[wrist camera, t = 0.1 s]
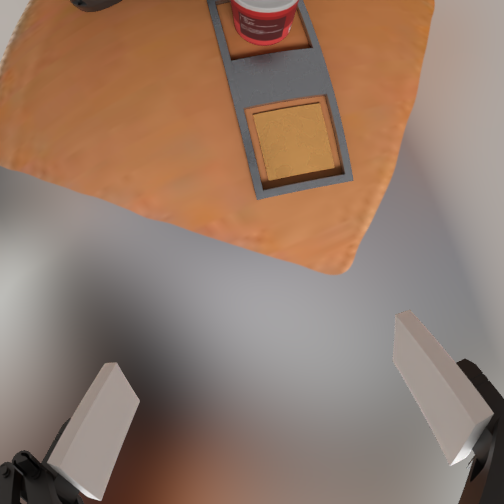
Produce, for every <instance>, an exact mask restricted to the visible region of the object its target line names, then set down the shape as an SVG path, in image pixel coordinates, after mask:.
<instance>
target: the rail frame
mask: <svg viewBox="0 0 504 504" xmlns="http://www.w3.org/2000/svg"><path fill="white" fill-rule="evenodd" d="M228 2H231V1H230V0H207V3H208V6H209V10H210V14H211V17H212V21H213V25H214V29H215V32H216V36H217V40H218V44H219V48H220V51H221V55H222V59H223V63H224V67H225V71H226V75H227V78H228V82H229V86H230V90H231V94H232V98H233V102H234V106H235V110H236V114H237V118H238V122H239V126H240V130H241V135H242V139H243V143H244V147H245V151H246V155H247V159H248V163H249V168H250V172H251V176H252V180H253V185H254V189H255V193H256V197H257V200H259V199H264V198H268V197H273V196H277V195H282V194H287V193H292V192H296V191H301V190H306V189H311V188H316V187H321V186H327V185H332V184H337V183H343V182H348V181H353V175H352V170H351V164H350V159H349V154H348V149H347V144H346V140H345V135H344V131H343V126H342V122H341V118H340V114H339V110H338V106H337V102H336V98H335V94H334V91H333V87H332V84H331V80H330V77H329V73H328V70H327V67H326V63H325V60H324V57H323V54H322V51H321V48H320V45H319V42H318V39H317V36H316V33H315V31H314V28H313V25H312V22H311V20H310V17H309V15H308V12H307V9H306V7H305V4H304V2H303V0H299V2H298V5H297V8H296V9H297V11H298V14H299V16H300V19H301V22H302V25H303V27H304V30H305V33H306V36H307V39H308V42H309V45H310V48H307V49H298V50H290V51H282V52H276V53H269V54H263V55H258V56H253V57H247V58H243V59H238V60H233V61H231V59H230V55H229V51H228V48H227V44H226V40H225V37H224V33H223V29H222V26H221V22H220V19H219V15H218V11H217V8H216V5H218V4H223V3H228ZM319 96H325V98H326V102H327V106H328V110H329V114H330V118H331V122H332V126H333V131H334V135H335V139H336V144H337V149H338V154H339V158H340V163H341V169H342V174H339V175H334V176H328V177H323V178H317V179H312V180H307V181H302V182H297V183H292V184H287V185H282V186H278V187H273V188H268V189H264V190H263V188H262V184H261V180H260V175H259V171H258V167H257V163H256V158H255V154H254V150H253V146H252V142H251V138H250V133H249V129H248V125H247V121H246V117H245V113H244V110H245V109H250V108H254V107H259V106H264V105H269V104H274V103H280V102H285V101H291V100H298V99H304V98H311V97H319ZM253 117H254V121H255V126H256V130H257V134H258V138H259V142H260V146H261V150H262V155H263V159H264V163H265V167H266V172H267V176H268V180H269V181H270V180H275V179H280V178H284V177H289V176H294V175H299V174H304V173H310V172H315V171H320V170H326V169H331V168H335V167H334V162H333V157H332V153H331V148H330V143H329V139H328V134H327V130H326V126H325V122H324V117H323V113H322V109H321V105H320V103H318V104H311V105H304V106H298V107H291V108H286V109H280V110H275V111H269V112H264V113H259V114H255V115H253Z"/></svg>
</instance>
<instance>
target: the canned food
mask: <svg viewBox="0 0 504 504" xmlns="http://www.w3.org/2000/svg"><path fill="white" fill-rule="evenodd" d="M230 1H231V7H232V12H233V18H234V24H235V28H236V30H237V32H238V33H239V35H240V36H241V37H242V38H244V39H245V40H246V41H248V42H250V43H252V44H255V45H261V46H267V45H273V44H276V43H278V42H280V41H281V40H283V39H284V38H285V37H286V36H287V35H288V33H289V31H290V29H291V25H292V22H293V18H294V15H295V12H296V8H297V5H298V2H299V0H230Z"/></svg>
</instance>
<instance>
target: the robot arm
mask: <svg viewBox="0 0 504 504" xmlns="http://www.w3.org/2000/svg"><path fill="white" fill-rule="evenodd" d="M70 1H71V3H72V4H73V5H74V6H76V7H77V8H78V9H80V10H82V11H85V12H94V11H99V10H102V9H105V8H108V7H110V6H112V5H114V4H116V3H118V2H120V1H122V0H70ZM393 362H394V364H395V366H396V367H397V369H398V371H399V372H400V374H401V376H402V378H403V379H404V381H405V383H406V384H407V386H408V388H409V390H410V391H411V393H412V395H413V397H414V398H415V400H416V402H417V404H418V406H419V407H420V409H421V411H422V413H423V415H424V417H425V419H426V420H427V422H428V424H429V426H430V428H431V430H432V432H433V434H434V436H435V438H436V440H437V442H438V443H439V445H440V447H441V449H442V451H443V453H444V455H445V458H446V460H447V462H448V464H449V466H451V465H453V464H455V463H457V462H459V461H461V460H462V459H464V458H466V457H467V456H468V454H469V453H470V452H471V450H473V451H474V453H475V456H474V457H473V458H472V460H471V461H470V463H469V464H468V466H467V468H469V467H470V466H471V469H470V472H469V475H468V478H467V481H466V484H465V487H464V490H463V493H462V495H461V498H460V501H459V503H458V504H504V399H503V397H502V396H501V395H500V394H499V392H498V391H497V390H496V389H495V387H494V386H493V385H492V384H491V382H490V381H488V379H487V377H486V376H485V375H484V374H482V372H481V370H480V369H479V368H478V367H477V365H476V364H474V363H472V362H471V361H469V360H467V359H463V360H462V361H459V362H457V363H455V361H454V360H453V359H452V358H451V357H450V355H449V354H448V353H447V352H446V351H445V350H444V348H443V347H442V346H441V345H440V343H439V342H438V341H437V340H436V339H435V338H434V337H433V335H432V334H431V333H430V332H429V331H428V329H427V328H426V327H425V326H424V325H423V324H422V323H421V322H420V320H419V319H418V318H417V317H416V316H415V315H414V314H413V313H412V312H411V310H408V311H405V312H402V313H399V314H396V315H395V334H394V350H393ZM139 402H140V400H139V399H138V397H137V396H136V394H135V393H134V391H133V389H132V388H131V386H130V385H129V383H128V381H127V380H126V378H125V376H124V375H123V373H122V371H121V369H120V368H119V366H118V364H117V363H105V364H104V366H103V367H102V369H101V370H100V372H99V373H98V375H97V377H96V378H95V380H94V382H93V383H92V385H91V387H90V388H89V389H88V391H87V393H86V394H85V396H84V398H83V399H82V401H81V403H80V404H79V406H78V408H77V409H76V411H75V413H74V415H73V416H72V418H69V419H68V420H67V421H66V422H65V423H64V424H63V426H62V427H61V429H60V431H59V434H57V436H56V438H55V440H54V441H53V443H52V445H51V447H50V448H49V450H48V452H47V454H46V456H45V458H44V459H43V461H42V463H40V462H39V461H38V460H37V459H36V458H35V457H34V456H33V455H32V454H30V452H28V451H25V450H24V451H20V452H19V453H17V454H16V455H15V456H14V458H13V460H12V463H10V462H5V463H3V464H2V465H1V466H0V504H21V503H20V497H21V498H22V499H23V500H25V501H26V502H27V504H84V503H83V500H82V498H81V497H80V496H79V495H78V493H79V491H81V492H82V493H83V494H85V495H86V496H87V497H90V498H93V499H96V500H99V501H101V500H102V497H103V494H104V492H105V489H106V486H107V483H108V481H109V478H110V475H111V472H112V470H113V467H114V464H115V462H116V459H117V456H118V454H119V451H120V449H121V446H122V444H123V441H124V439H125V436H126V434H127V431H128V428H129V426H130V423H131V421H132V419H133V416H134V414H135V411H136V409H137V406H138V404H139Z"/></svg>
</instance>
